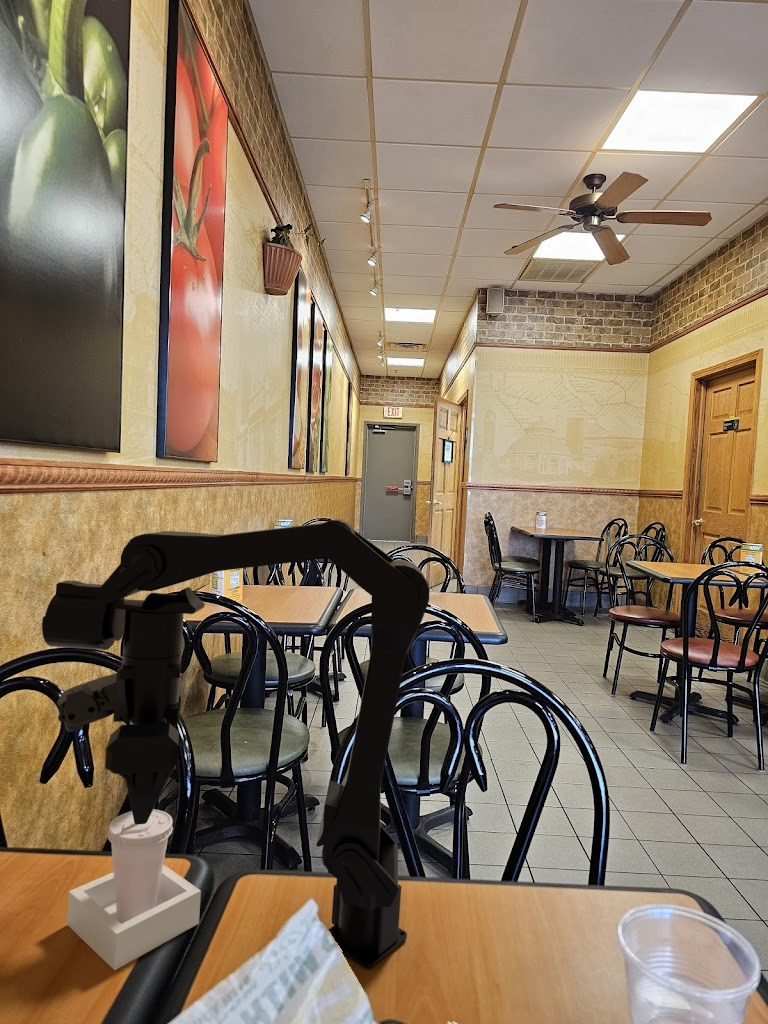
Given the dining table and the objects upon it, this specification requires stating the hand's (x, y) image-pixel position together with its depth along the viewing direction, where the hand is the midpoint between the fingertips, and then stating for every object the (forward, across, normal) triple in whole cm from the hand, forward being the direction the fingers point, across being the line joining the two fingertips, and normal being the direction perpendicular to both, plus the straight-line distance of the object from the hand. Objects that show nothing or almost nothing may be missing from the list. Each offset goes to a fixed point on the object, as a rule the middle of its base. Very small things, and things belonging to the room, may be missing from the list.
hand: (143, 801), depth 67 cm
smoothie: (+12, 0, 0) cm, 12 cm away
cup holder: (+13, 0, 0) cm, 13 cm away
